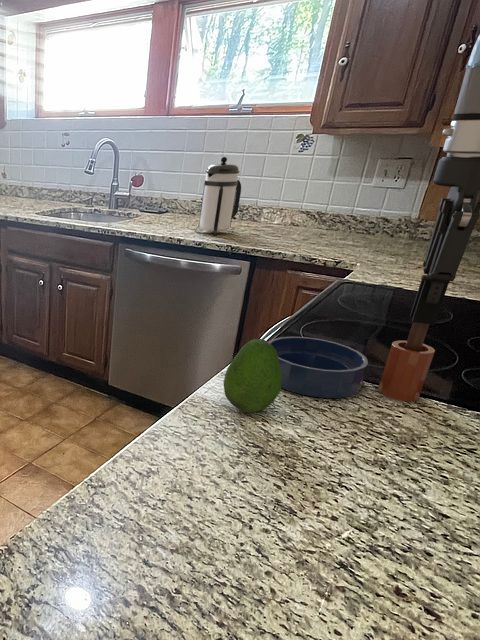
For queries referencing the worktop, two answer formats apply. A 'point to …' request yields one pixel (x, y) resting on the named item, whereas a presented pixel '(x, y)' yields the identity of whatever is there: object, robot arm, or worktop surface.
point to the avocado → (253, 377)
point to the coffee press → (220, 197)
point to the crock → (405, 372)
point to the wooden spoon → (417, 335)
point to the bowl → (319, 367)
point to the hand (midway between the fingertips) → (422, 319)
